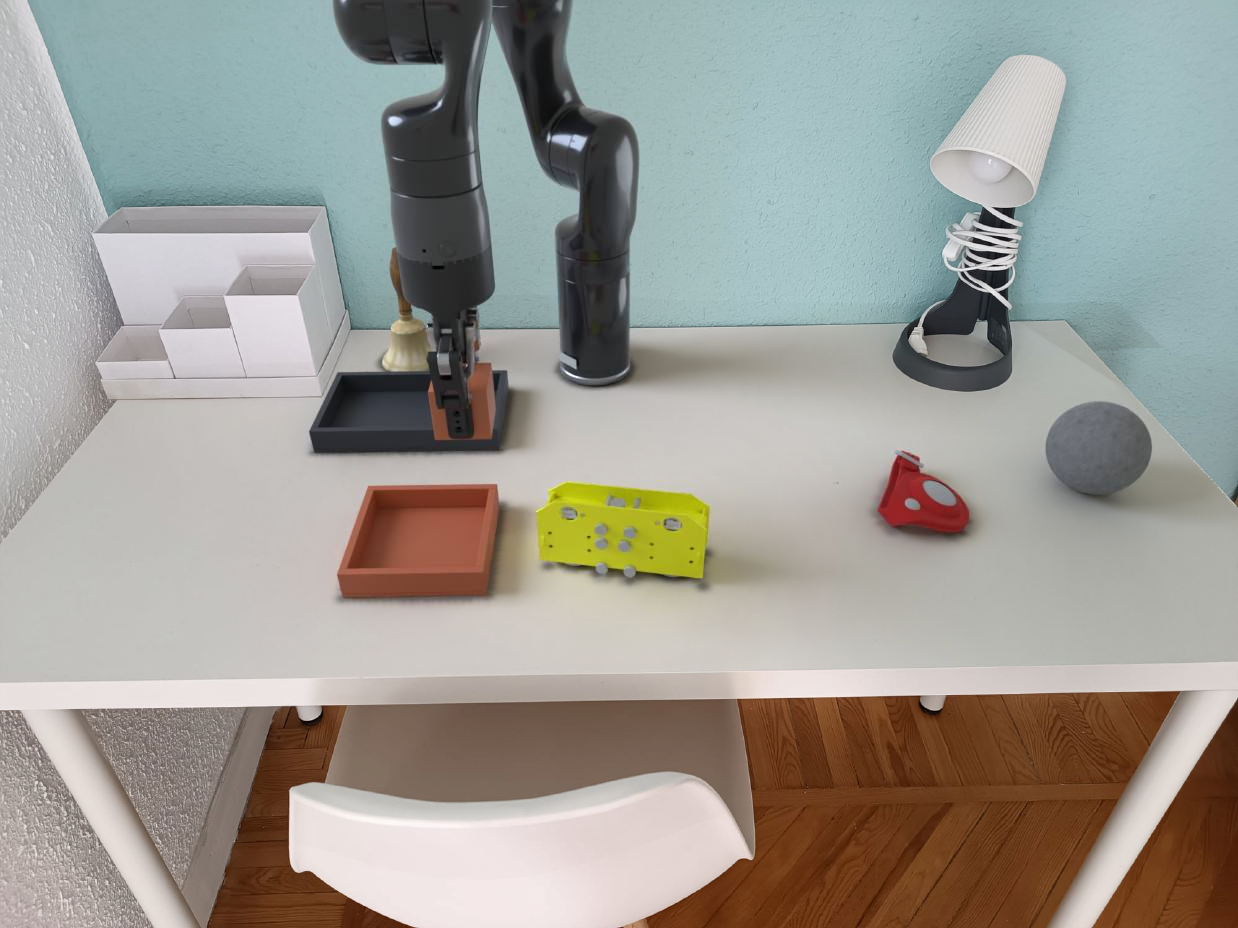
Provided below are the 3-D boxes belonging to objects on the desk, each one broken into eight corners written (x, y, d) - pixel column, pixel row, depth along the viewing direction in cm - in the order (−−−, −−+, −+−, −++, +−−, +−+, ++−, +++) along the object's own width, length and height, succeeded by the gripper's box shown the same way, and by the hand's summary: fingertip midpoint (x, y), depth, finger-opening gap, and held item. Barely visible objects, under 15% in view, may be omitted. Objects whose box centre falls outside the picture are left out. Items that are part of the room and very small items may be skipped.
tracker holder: (993, 512, 91) (935, 528, 85) (968, 540, 93) (911, 558, 88) (913, 435, 97) (855, 445, 92) (893, 464, 100) (835, 475, 94)
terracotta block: (442, 410, 82) (435, 363, 79) (496, 409, 82) (491, 362, 79) (435, 440, 77) (427, 392, 75) (491, 439, 78) (486, 391, 75)
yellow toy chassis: (539, 569, 86) (533, 502, 81) (552, 532, 90) (548, 466, 85) (701, 588, 83) (706, 520, 78) (707, 548, 88) (711, 483, 83)
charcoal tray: (341, 392, 113) (337, 372, 111) (508, 390, 113) (507, 370, 111) (314, 452, 102) (308, 431, 100) (499, 450, 102) (497, 429, 100)
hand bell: (396, 343, 124) (378, 235, 114) (452, 348, 122) (438, 239, 113) (372, 372, 117) (350, 259, 108) (430, 378, 116) (413, 264, 106)
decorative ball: (1021, 458, 101) (1046, 383, 95) (1109, 459, 100) (1140, 384, 94) (1053, 512, 92) (1082, 434, 87) (1149, 514, 92) (1185, 436, 86)
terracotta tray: (372, 507, 94) (367, 485, 92) (499, 505, 94) (497, 483, 92) (342, 597, 83) (336, 574, 81) (486, 595, 83) (483, 572, 81)
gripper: (410, 209, 75) (434, 380, 85) (378, 277, 63) (411, 466, 73) (497, 208, 75) (511, 379, 85) (482, 276, 64) (500, 465, 74)
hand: (465, 418), depth 79 cm, fingers closed on terracotta block, 5 cm apart
